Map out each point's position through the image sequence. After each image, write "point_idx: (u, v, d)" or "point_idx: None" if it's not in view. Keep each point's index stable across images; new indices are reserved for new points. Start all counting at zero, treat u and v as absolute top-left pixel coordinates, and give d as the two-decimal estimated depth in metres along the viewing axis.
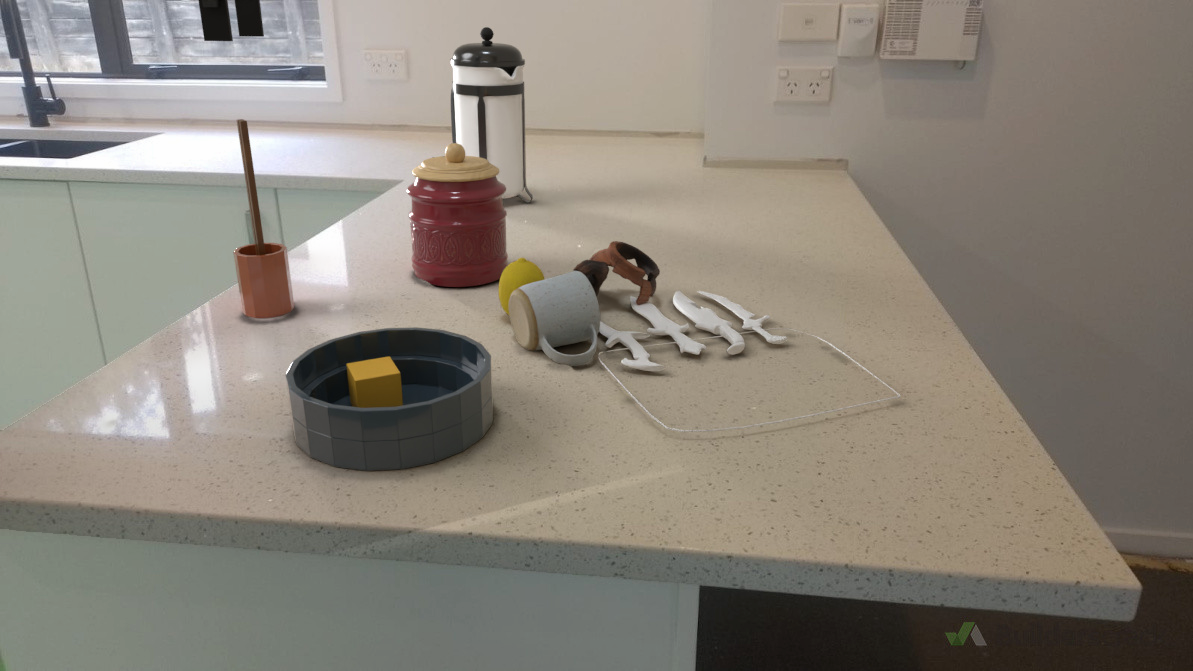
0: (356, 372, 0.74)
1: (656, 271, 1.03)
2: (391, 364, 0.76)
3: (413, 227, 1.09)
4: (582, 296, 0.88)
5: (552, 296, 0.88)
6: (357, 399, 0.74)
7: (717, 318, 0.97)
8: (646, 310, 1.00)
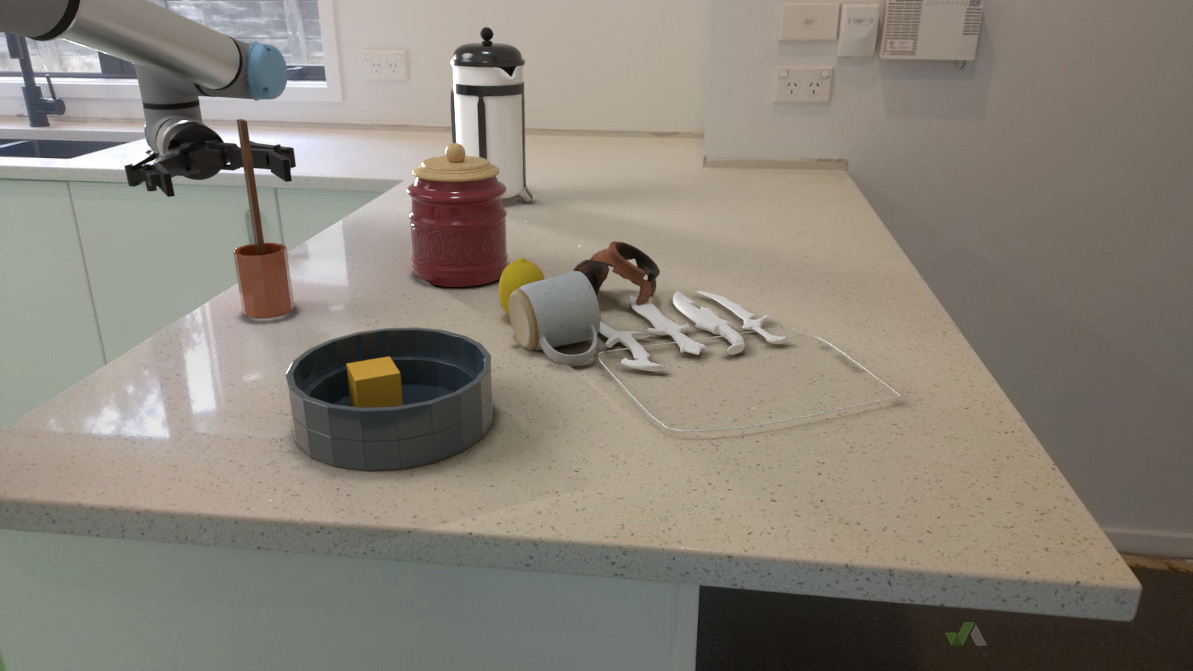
0: (356, 372, 0.74)
1: (656, 271, 1.03)
2: (391, 364, 0.76)
3: (413, 227, 1.09)
4: (582, 295, 0.88)
5: (552, 296, 0.88)
6: (357, 399, 0.74)
7: (717, 318, 0.97)
8: (646, 311, 1.00)
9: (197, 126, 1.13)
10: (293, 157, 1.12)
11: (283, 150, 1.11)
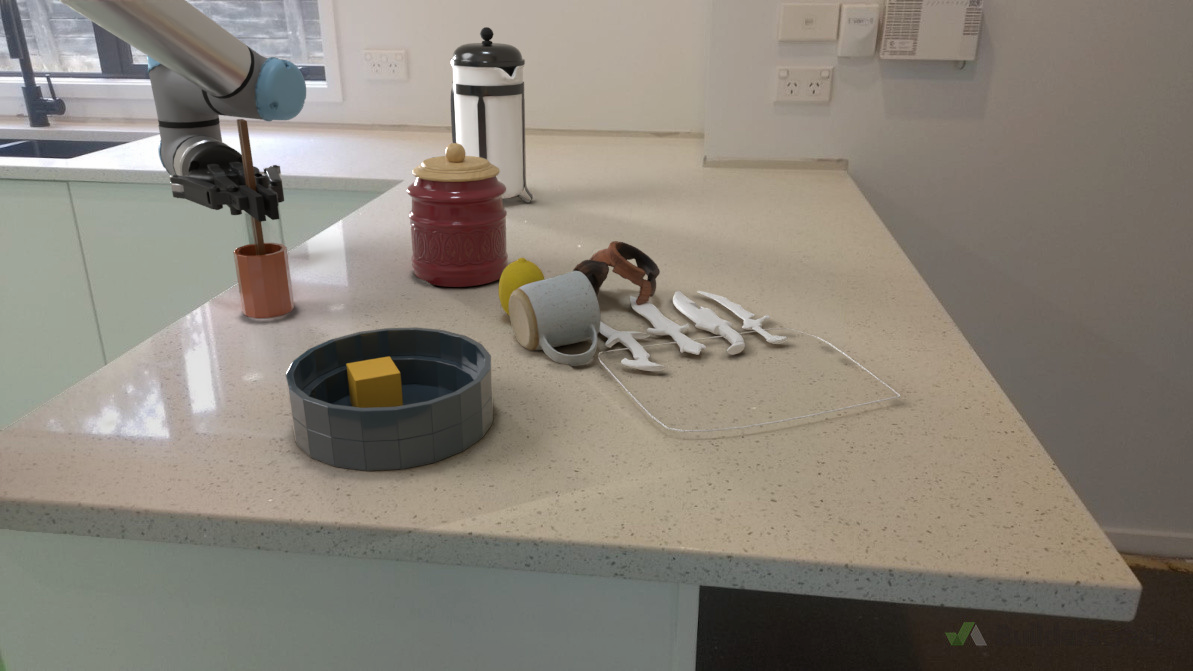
0: (356, 372, 0.74)
1: (656, 271, 1.03)
2: (391, 364, 0.76)
3: (413, 227, 1.09)
4: (582, 295, 0.88)
5: (553, 296, 0.88)
6: (357, 399, 0.74)
7: (717, 318, 0.97)
8: (646, 310, 1.00)
9: (220, 146, 1.04)
10: (281, 190, 0.98)
11: (270, 181, 0.98)
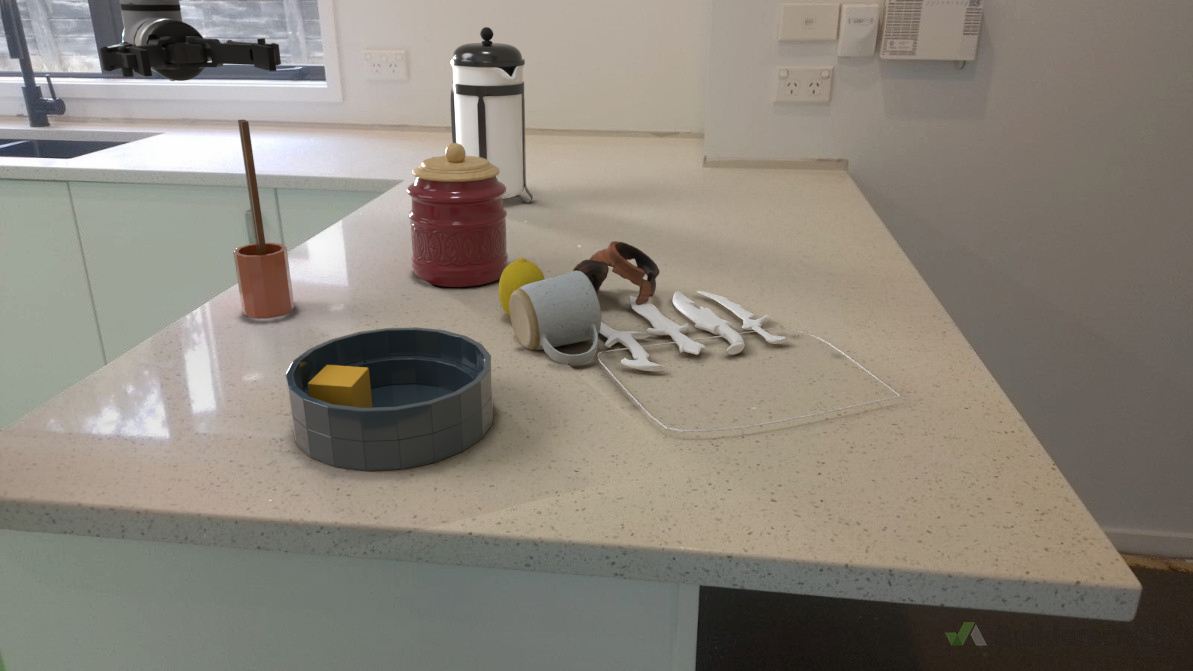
0: (319, 375, 0.74)
1: (656, 271, 1.03)
2: (357, 376, 0.74)
3: (413, 227, 1.09)
4: (583, 295, 0.89)
5: (553, 296, 0.88)
6: None
7: (717, 318, 0.97)
8: (645, 310, 1.00)
9: (177, 22, 1.08)
10: (278, 53, 1.07)
11: (268, 46, 1.07)
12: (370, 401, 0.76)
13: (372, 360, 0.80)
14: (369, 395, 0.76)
